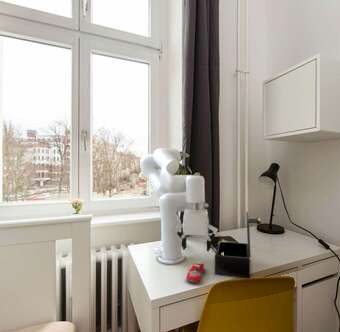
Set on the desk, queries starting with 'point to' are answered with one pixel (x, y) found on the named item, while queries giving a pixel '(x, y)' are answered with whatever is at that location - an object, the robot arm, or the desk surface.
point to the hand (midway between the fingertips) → (196, 249)
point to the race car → (196, 273)
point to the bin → (232, 260)
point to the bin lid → (249, 231)
